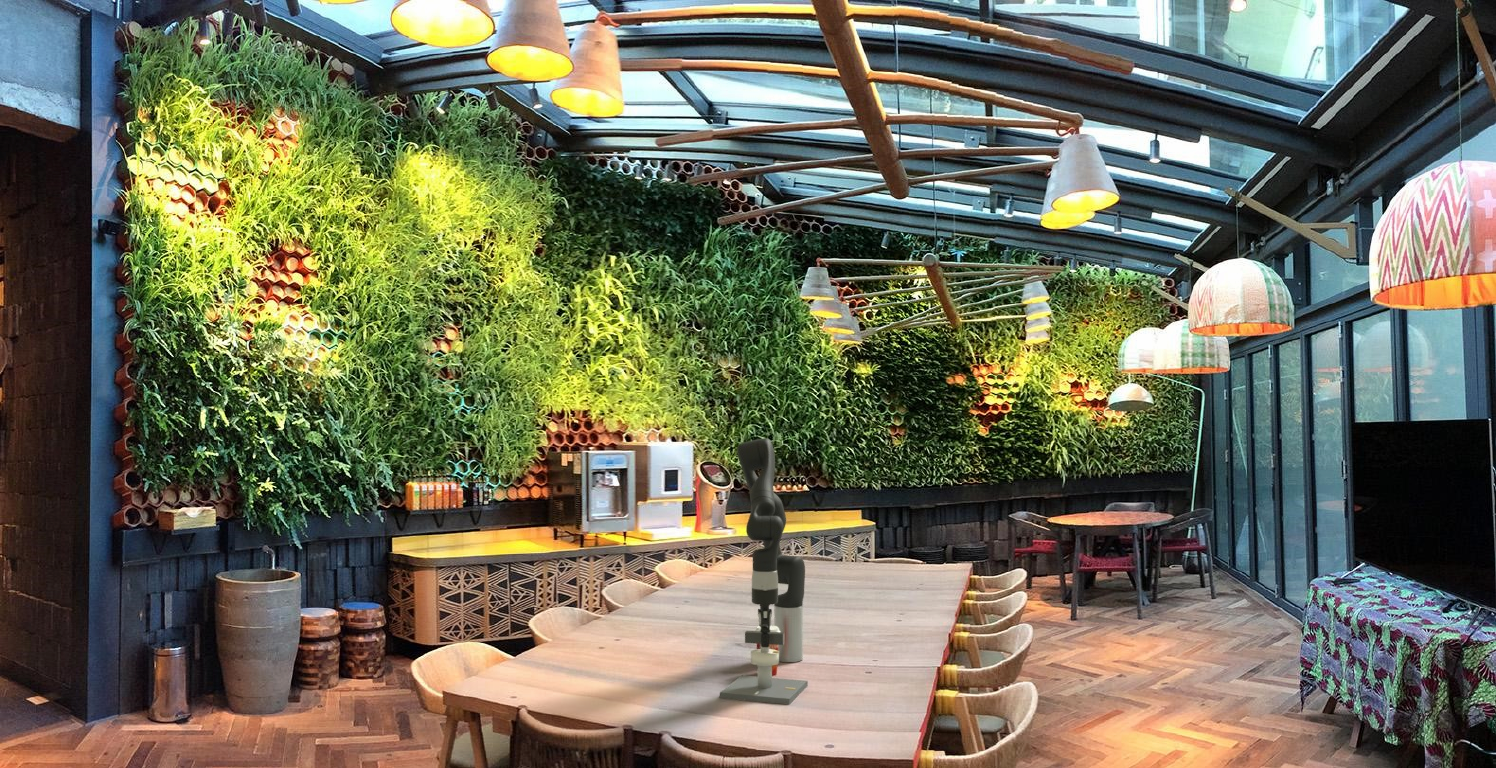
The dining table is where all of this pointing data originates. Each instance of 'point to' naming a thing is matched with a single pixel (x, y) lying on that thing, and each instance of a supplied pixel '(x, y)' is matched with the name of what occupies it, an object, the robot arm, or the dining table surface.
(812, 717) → the dining table surface
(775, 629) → the paper cup
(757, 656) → the coupling
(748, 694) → the post board
